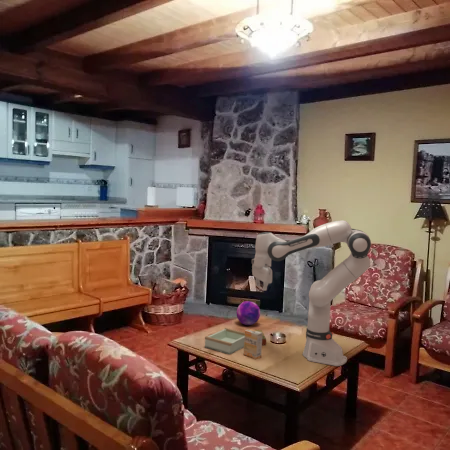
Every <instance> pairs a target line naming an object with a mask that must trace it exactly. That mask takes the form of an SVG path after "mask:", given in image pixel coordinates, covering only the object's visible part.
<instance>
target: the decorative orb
mask: <svg viewBox="0 0 450 450" xmlns="http://www.w3.org/2000/svg"><path fill="white" fill-rule="evenodd" d="M236 317H237V320H238V321H239V322H240V323H241V324H243V325H245V326H253V325H254V324H256V323H257V322H258V321H259V319H260V317H261V309H260V306H259V305H258V304H257V303H256V302H253V301H252V300H244V301H243V302H241V303H240V304H239V305H238V307H237V308H236Z"/></svg>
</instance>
